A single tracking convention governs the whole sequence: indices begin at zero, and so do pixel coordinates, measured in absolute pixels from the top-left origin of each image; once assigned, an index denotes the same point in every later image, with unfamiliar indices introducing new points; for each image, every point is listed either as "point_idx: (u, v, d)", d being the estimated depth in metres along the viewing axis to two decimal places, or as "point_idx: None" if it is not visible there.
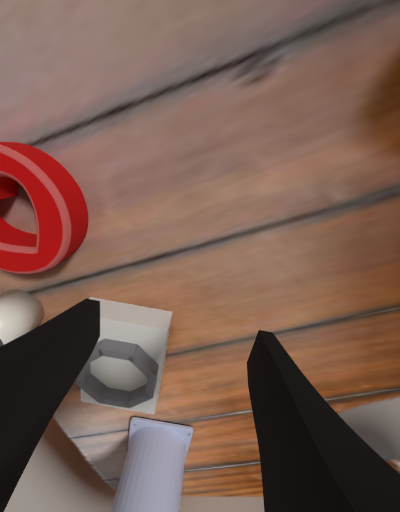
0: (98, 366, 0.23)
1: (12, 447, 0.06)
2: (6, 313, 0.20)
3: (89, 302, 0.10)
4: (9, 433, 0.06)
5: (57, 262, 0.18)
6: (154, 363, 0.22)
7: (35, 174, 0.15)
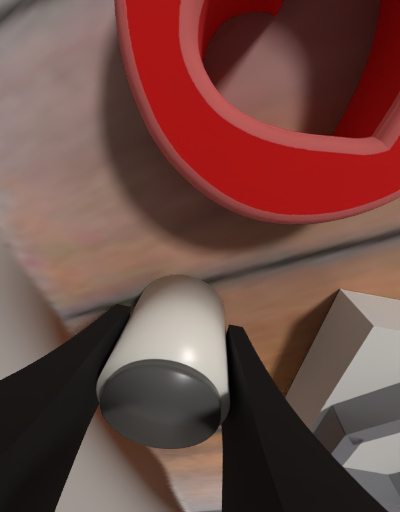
0: None
1: (61, 455, 0.06)
2: (206, 326, 0.08)
3: (120, 308, 0.10)
4: (60, 442, 0.06)
5: None
6: None
7: None
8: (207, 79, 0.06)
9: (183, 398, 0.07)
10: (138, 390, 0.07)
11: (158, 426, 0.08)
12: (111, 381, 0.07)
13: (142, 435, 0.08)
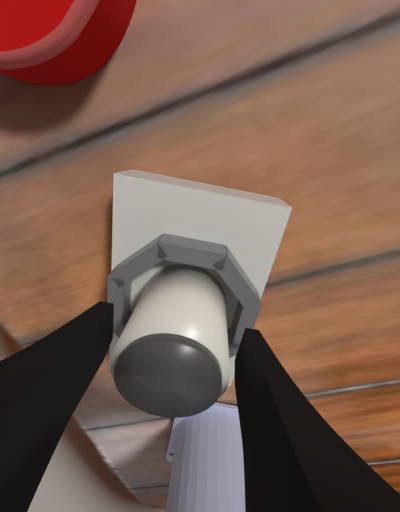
0: None
1: (35, 451, 0.06)
2: (207, 307, 0.09)
3: (103, 305, 0.10)
4: (32, 437, 0.06)
5: (80, 25, 0.08)
6: (252, 284, 0.12)
7: None
8: None
9: (188, 368, 0.08)
10: (148, 361, 0.08)
11: (166, 395, 0.08)
12: (124, 353, 0.08)
13: (151, 405, 0.09)
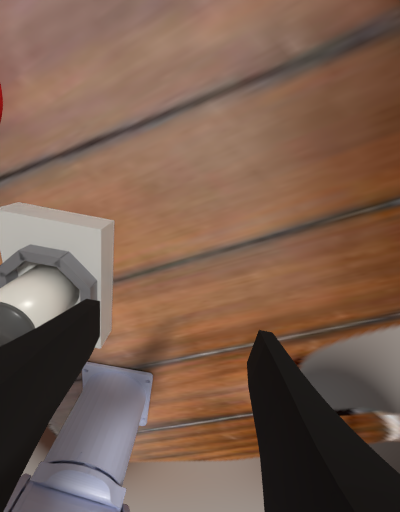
0: None
1: (12, 447, 0.06)
2: (34, 288, 0.16)
3: (89, 302, 0.10)
4: (9, 433, 0.06)
5: None
6: (90, 276, 0.19)
7: None
8: None
9: (7, 319, 0.15)
10: None
11: (5, 337, 0.15)
12: None
13: (2, 344, 0.16)
